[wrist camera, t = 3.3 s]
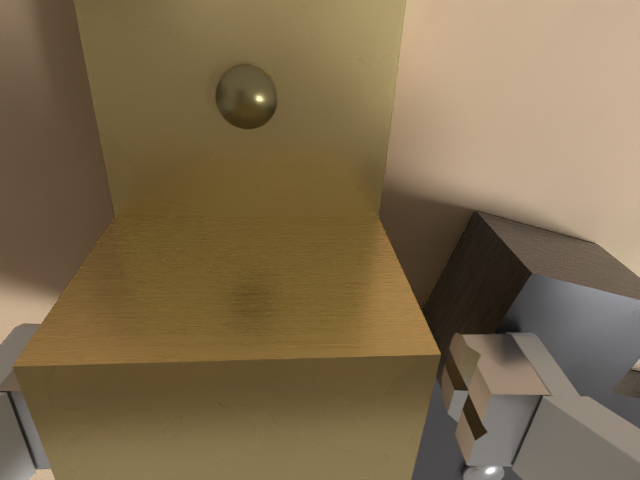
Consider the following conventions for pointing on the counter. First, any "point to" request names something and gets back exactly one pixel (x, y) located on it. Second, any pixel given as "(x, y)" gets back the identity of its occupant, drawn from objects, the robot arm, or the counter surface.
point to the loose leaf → (237, 254)
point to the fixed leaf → (533, 323)
